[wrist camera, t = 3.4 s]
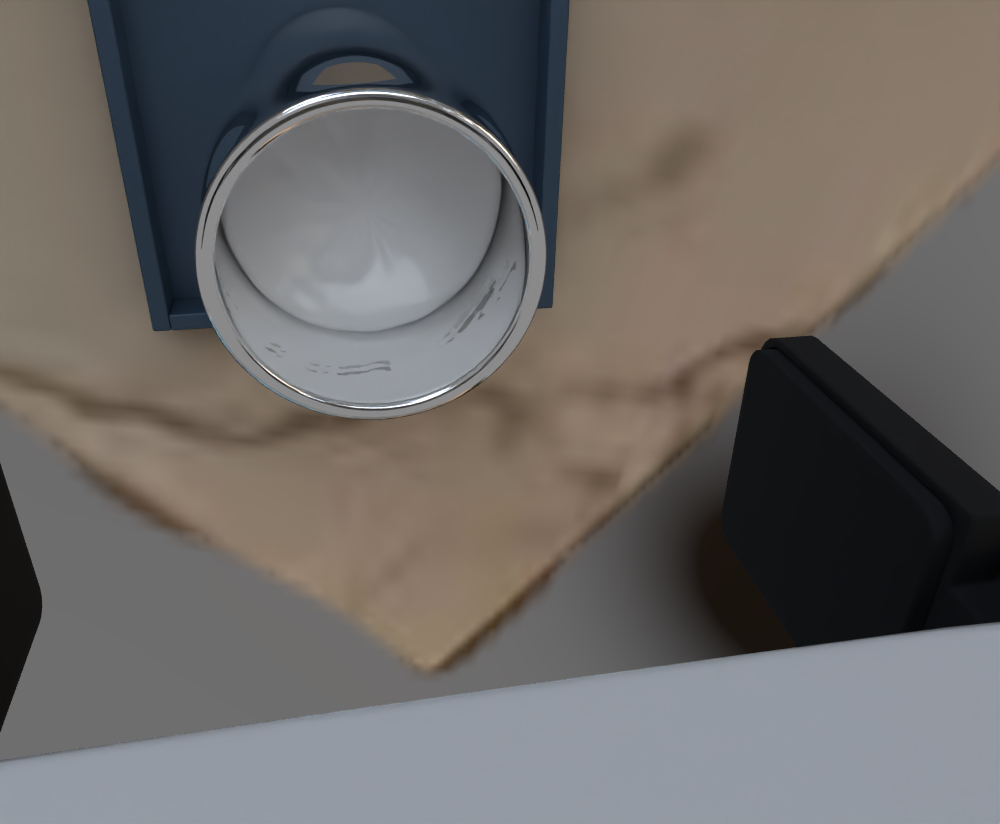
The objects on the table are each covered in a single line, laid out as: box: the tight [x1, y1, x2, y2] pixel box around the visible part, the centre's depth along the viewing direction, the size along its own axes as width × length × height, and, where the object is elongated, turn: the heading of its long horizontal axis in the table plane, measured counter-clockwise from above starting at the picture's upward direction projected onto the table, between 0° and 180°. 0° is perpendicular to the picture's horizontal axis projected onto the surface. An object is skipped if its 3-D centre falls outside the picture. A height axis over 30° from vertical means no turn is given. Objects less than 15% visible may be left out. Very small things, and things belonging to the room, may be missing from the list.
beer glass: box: [195, 6, 547, 420], centre depth 23 cm, size 7×7×15 cm
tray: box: [87, 0, 569, 331], centre depth 29 cm, size 14×14×2 cm
